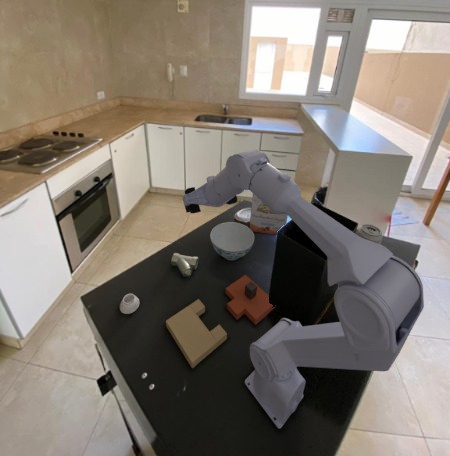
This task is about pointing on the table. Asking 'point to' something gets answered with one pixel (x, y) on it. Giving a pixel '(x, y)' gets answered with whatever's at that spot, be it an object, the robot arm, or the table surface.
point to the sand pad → (194, 333)
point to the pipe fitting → (184, 263)
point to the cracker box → (265, 218)
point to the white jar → (129, 304)
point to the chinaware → (232, 240)
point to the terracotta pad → (248, 300)
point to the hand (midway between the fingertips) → (200, 204)
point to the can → (370, 233)
